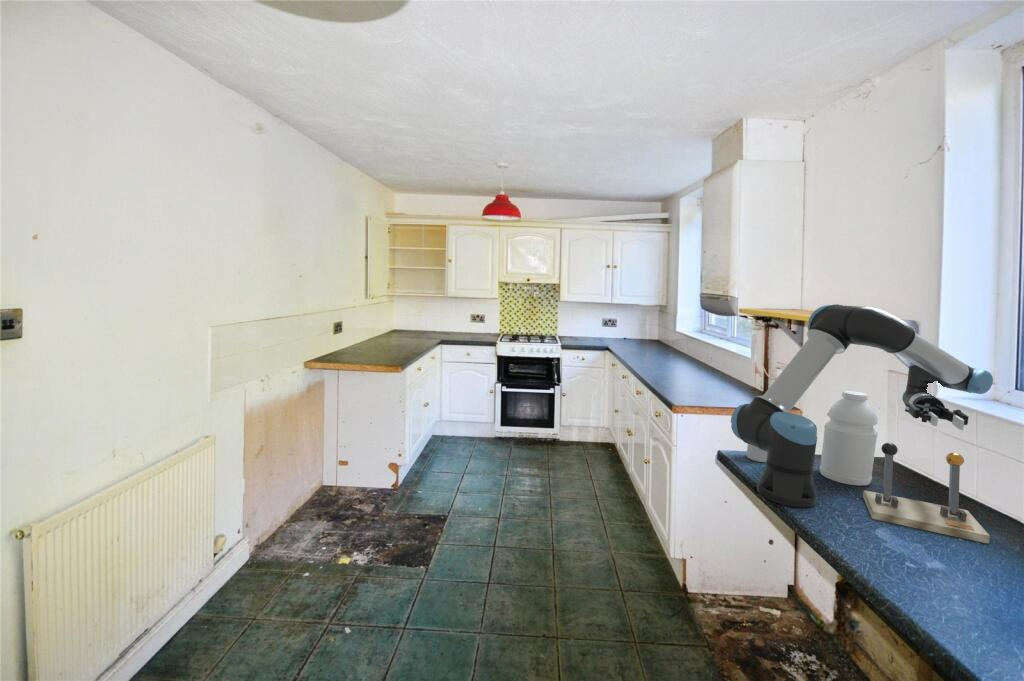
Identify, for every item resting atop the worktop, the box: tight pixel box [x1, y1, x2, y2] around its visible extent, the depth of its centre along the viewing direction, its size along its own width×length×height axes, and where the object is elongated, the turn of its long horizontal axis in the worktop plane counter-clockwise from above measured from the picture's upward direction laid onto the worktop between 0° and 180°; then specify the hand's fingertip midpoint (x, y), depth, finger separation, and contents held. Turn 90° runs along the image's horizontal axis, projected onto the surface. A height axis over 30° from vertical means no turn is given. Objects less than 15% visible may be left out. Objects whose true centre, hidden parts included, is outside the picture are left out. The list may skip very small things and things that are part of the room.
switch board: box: [862, 489, 991, 544], centre depth 130 cm, size 23×16×4 cm
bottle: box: [819, 390, 879, 486], centre depth 156 cm, size 14×14×28 cm
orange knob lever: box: [945, 452, 965, 516], centre depth 128 cm, size 4×4×16 cm
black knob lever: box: [880, 442, 899, 503], centre depth 135 cm, size 4×4×16 cm
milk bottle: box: [746, 444, 767, 463], centre depth 170 cm, size 8×8×20 cm
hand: (948, 423), depth 136 cm, fingers open, 5 cm apart
